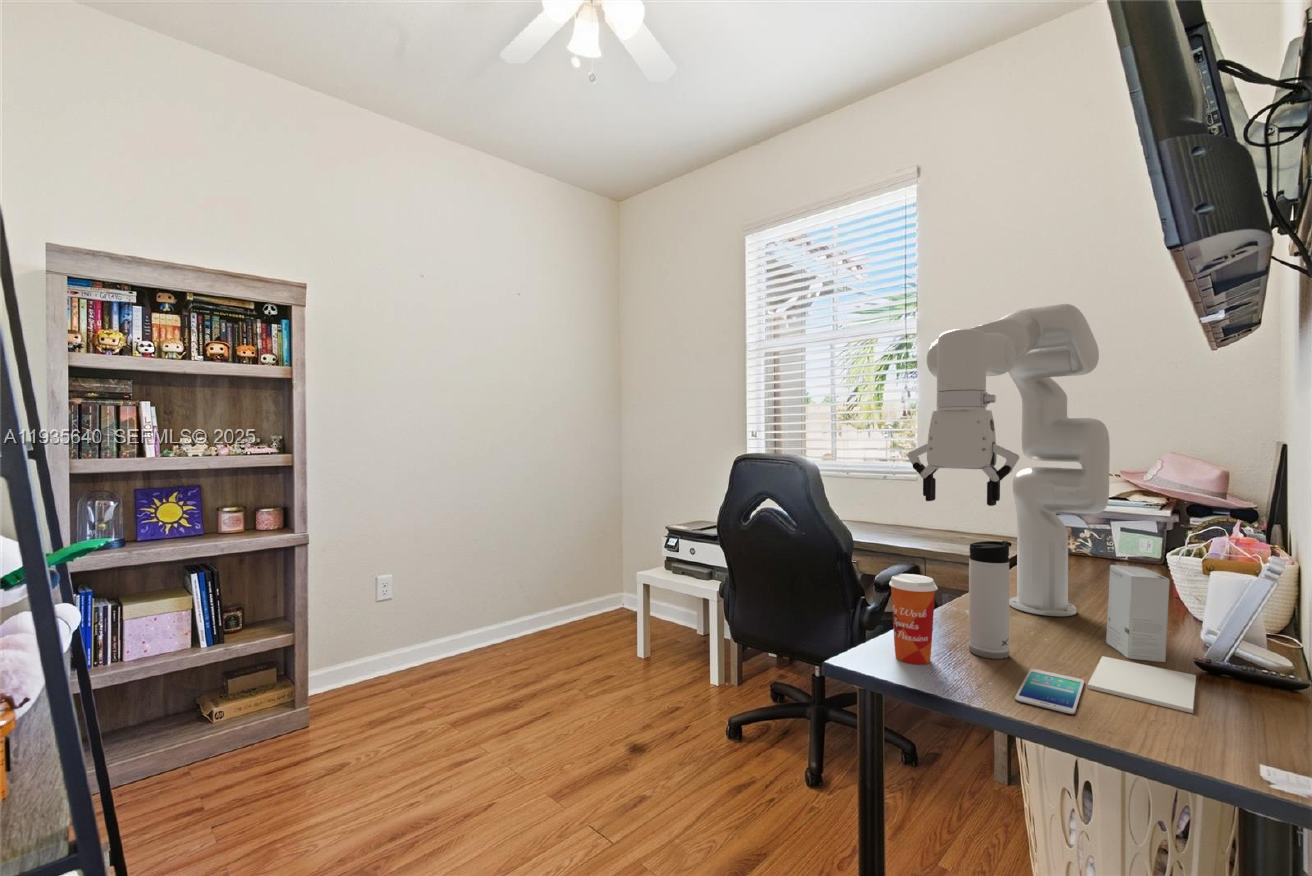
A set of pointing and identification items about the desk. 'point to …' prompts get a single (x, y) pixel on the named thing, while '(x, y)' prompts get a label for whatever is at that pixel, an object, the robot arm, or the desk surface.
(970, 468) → the robot arm
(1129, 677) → the off-white mat
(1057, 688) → the smartphone
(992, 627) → the travel mug
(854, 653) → the desk surface
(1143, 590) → the skincare box
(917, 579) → the paper cup
